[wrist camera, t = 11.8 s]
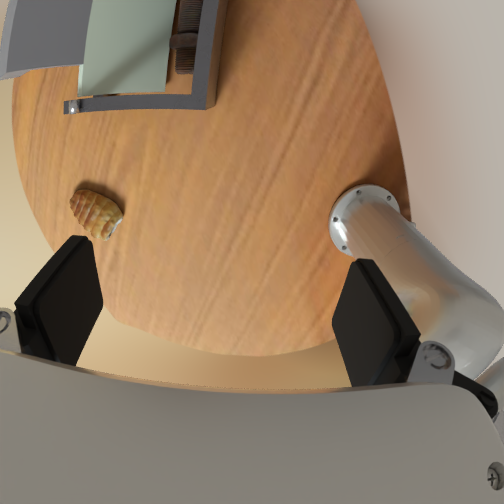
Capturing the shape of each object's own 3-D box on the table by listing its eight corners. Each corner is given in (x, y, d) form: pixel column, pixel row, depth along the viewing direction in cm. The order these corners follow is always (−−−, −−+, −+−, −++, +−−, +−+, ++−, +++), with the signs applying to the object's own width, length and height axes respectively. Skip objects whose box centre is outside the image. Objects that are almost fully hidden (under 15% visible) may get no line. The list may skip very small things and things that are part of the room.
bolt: (162, 74, 29) (173, -32, 21) (165, 75, 34) (174, -20, 26) (211, 73, 31) (221, -31, 23) (208, 74, 35) (216, -19, 27)
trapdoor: (151, -12, 28) (180, -22, 25) (138, 92, 36) (164, 91, 34) (16, -24, 11) (31, -46, 9) (-4, 112, 20) (4, 109, 17)
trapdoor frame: (232, -27, 26) (230, -70, 15) (215, 106, 37) (203, 110, 25) (122, -21, 25) (84, -51, 13) (106, 106, 35) (58, 115, 24)
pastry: (68, 209, 43) (58, 218, 39) (84, 177, 40) (73, 184, 37) (111, 239, 46) (102, 250, 43) (129, 209, 44) (120, 219, 40)
